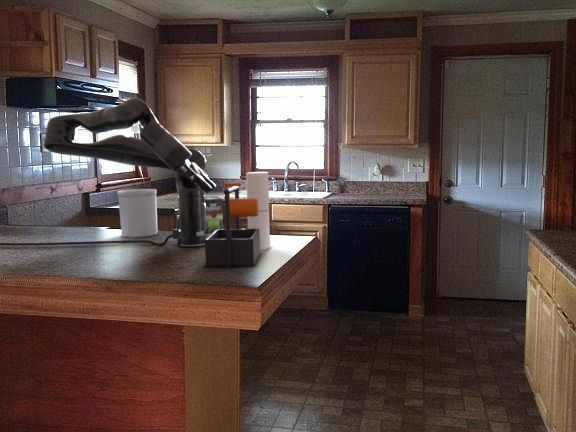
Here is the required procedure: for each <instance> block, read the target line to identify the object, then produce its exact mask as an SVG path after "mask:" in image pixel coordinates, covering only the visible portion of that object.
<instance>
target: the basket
mask: <svg viewBox="0 0 576 432" xmlns="http://www.w3.org/2000/svg"><path fill="white" fill-rule="evenodd" d="M232 193H234V199H240V186H235V187H229V188H228V189H226V190H225V189H224V190H223V194H224V217H225V218H224V220H225V228H223V229H216V230H215V231H214V232H213V233H212V234H211V235H209V236H207V238H206V239H205V246H204V257H205V268H207V269H209V268H211V269H212V268H213V269H215V268H226V269H232V268H255V265H256V263H257V261H258V259H259V257H260V255H261V250H260V231H259V229H248V228H241V217H235V228H231V217H230V199H231V196H230V197H229V194H230V195H231V194H232Z"/></svg>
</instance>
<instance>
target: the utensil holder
mask: <svg viewBox="0 0 576 432" xmlns="http://www.w3.org/2000/svg"><path fill="white" fill-rule="evenodd" d="M157 193H158V191H157V189H156V188H134V189H132V188H131V189H124V190H123V189H122V190H118V191H117V194H116V195H117V196H118V197H117V198H118V209H119V219H120V220H119V223H120V230H121V231H120V232H121V236H122V237H123V238H146V237H151V236H156V235H157V234H158V211H157V210H158V209H157Z"/></svg>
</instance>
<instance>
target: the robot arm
mask: <svg viewBox="0 0 576 432" xmlns="http://www.w3.org/2000/svg"><path fill="white" fill-rule="evenodd" d="M154 114H155V113H154V112H153V111H152V110H151V108H150V106H149V105H148V103H147V102H145V101H144V100H143V99H142V98H139V97H137V96H136V97H133V96H132V97H130V98H128V99H126V100H125V101H123V102H121V103H119V104H118V105H116V106H106V107H103V108H101V109H100V108H99V109H97V110H94V111H90V112H86V113H85V112H84V113H73V114H65V115H64V114H63V115H56V116H54V117H53V116H52V117H51V118H50V119H48V122H47V124H46V129H45V133H44V139H43V147H44V148H43V149H45V150H46V151H48V152H50V153H55V154H58V155H63V156H64V155H65V156H75V157H81V158H82V157H83V158H92V159H96V160H97V159H98V160H104V161H108V162H113V163H118V164H121V165H122V164H123V165H128V166H135V167H144V168H160V169H165V170H170V171H173V172H175V184H176V190H177V191H176V192H177V206H178V217H177V218H176V220H175V223H176V228H174V229H172V233H171V234H169V235H168V236H166V238H165V239H164V241H163V242H161V243H159V242H156V241H154V240H149V239H148V240H146V239H141V240H140V239H137V240H136V239H135V240H134V239H133V240H97V241H96V240H92V241H89V240H88V241H64V242H63V241H61V242H59V241H58V242H0V246H64V245H65V246H67V245H68V246H69V245H71V246H72V245H97V244H98V245H99V244H143V243H145V244H152V245H155V246H165V245H166V244H167V243H168V242H169V240H170V239H171V238H172V239H173V240H176V242H177V243H176V244H177V247H183V248H197V247H199V248H200V247H205V239H206V238H207V237H208V236H207V234H206V207H205V197H206V194H209V193H210V192H213V191H214V190H215V189H216V188H217V185H216V184H215V183H214V182H213V181H212V180H210V178H209V177H208V174H207V173H205V171H204V170H205V168H206V164H207V162H206V161H207V160H206V158H205V155H204V154H203V153H202V152H201V151H199V150H198V149H196V148H187V147H186V146H185V145H184V144H183V143H182V142H181V141H180V140H179V139H178V138H176V137H175V135H173V134H172V133H170V132H169V131H168V130H167V129H166V128H165V127H164V126H163V125H161V124H160V122H159V121H158V119H157V117H156V116H155V115H154ZM137 124H140V126H141V128H142V129H141V130H140V132H139V137H135V136H130V135H125V134H116V135H112V136H109V137H105V138H103V139H101V140H97V141H94V142H89V143H88V142H87V143H86V142H85V143H83V142H76V141H77V134H78V129H79V128H83V129H85V130H87V131H88V132H90V133H93V134H99V135H101V134H106V133H110V132H112V131H117V130H119V131H120V130H126V129H129V128H131V127H133V126H135V125H137Z"/></svg>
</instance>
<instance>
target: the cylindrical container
mask: <svg viewBox="0 0 576 432" xmlns="http://www.w3.org/2000/svg"><path fill="white" fill-rule="evenodd" d="M245 174H246V175H245V177H246V182H245V183H246V198H257V199H258V216H250V217H247V229H259V231H260V251H264V250H270V249H271V234H270V233H271V230H270V228H271V227H270V226H271V225H270V195H269V194H270V192H269V190H270V189H269V172H268V171H251V172H250V171H249V172H246V173H245Z"/></svg>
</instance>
